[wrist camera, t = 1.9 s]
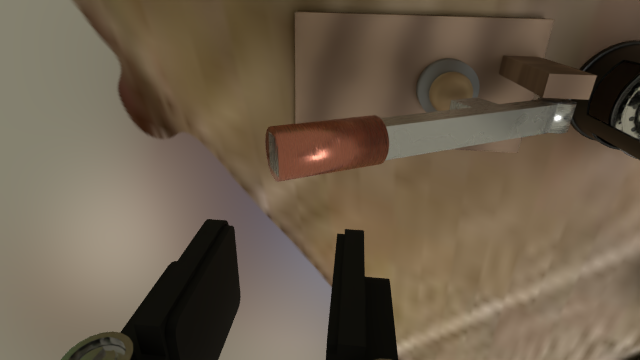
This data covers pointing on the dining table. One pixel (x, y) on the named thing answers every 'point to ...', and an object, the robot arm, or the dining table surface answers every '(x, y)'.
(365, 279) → the robot arm
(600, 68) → the french press
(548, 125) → the lever
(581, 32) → the dining table surface
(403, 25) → the base
